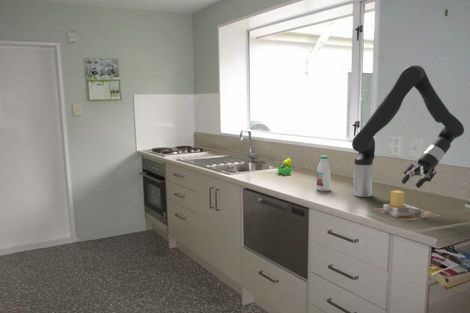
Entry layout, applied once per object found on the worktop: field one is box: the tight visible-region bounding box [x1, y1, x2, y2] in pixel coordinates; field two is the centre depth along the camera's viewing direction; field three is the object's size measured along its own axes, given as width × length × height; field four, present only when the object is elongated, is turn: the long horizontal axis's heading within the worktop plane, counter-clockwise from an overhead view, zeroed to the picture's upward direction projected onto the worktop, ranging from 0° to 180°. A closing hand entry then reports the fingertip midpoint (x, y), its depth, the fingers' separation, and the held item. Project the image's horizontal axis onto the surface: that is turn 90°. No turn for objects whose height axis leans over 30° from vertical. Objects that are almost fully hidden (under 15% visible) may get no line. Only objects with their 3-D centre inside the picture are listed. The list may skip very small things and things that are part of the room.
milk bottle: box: [316, 154, 331, 192], centre depth 227 cm, size 8×8×20 cm
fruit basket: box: [276, 157, 293, 176], centre depth 277 cm, size 11×9×11 cm
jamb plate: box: [373, 203, 441, 222], centre depth 177 cm, size 20×20×4 cm
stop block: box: [389, 189, 405, 208], centre depth 175 cm, size 4×4×10 cm
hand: (409, 184), depth 176 cm, fingers open, 8 cm apart
